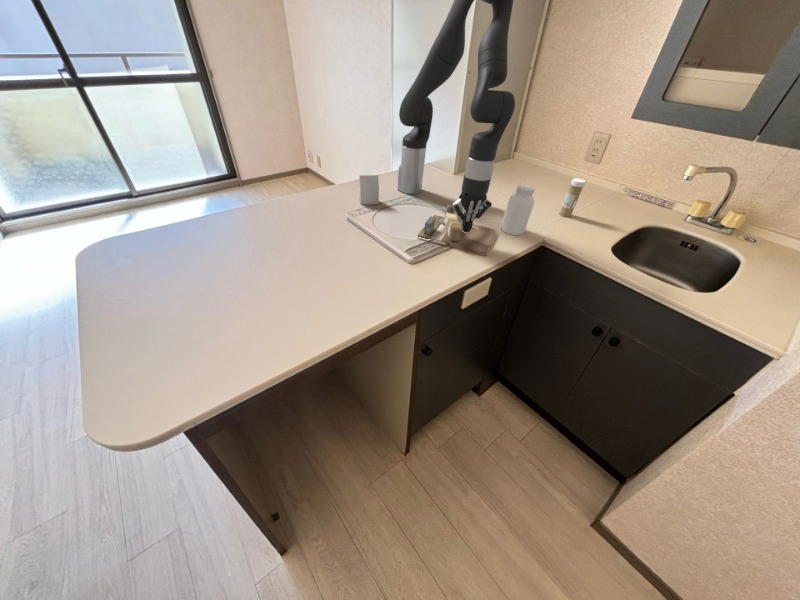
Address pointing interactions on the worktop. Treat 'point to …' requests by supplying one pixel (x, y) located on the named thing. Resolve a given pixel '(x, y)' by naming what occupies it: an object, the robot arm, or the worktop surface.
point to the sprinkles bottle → (572, 197)
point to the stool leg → (452, 224)
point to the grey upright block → (368, 189)
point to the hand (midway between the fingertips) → (465, 230)
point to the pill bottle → (518, 210)
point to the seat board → (468, 241)
